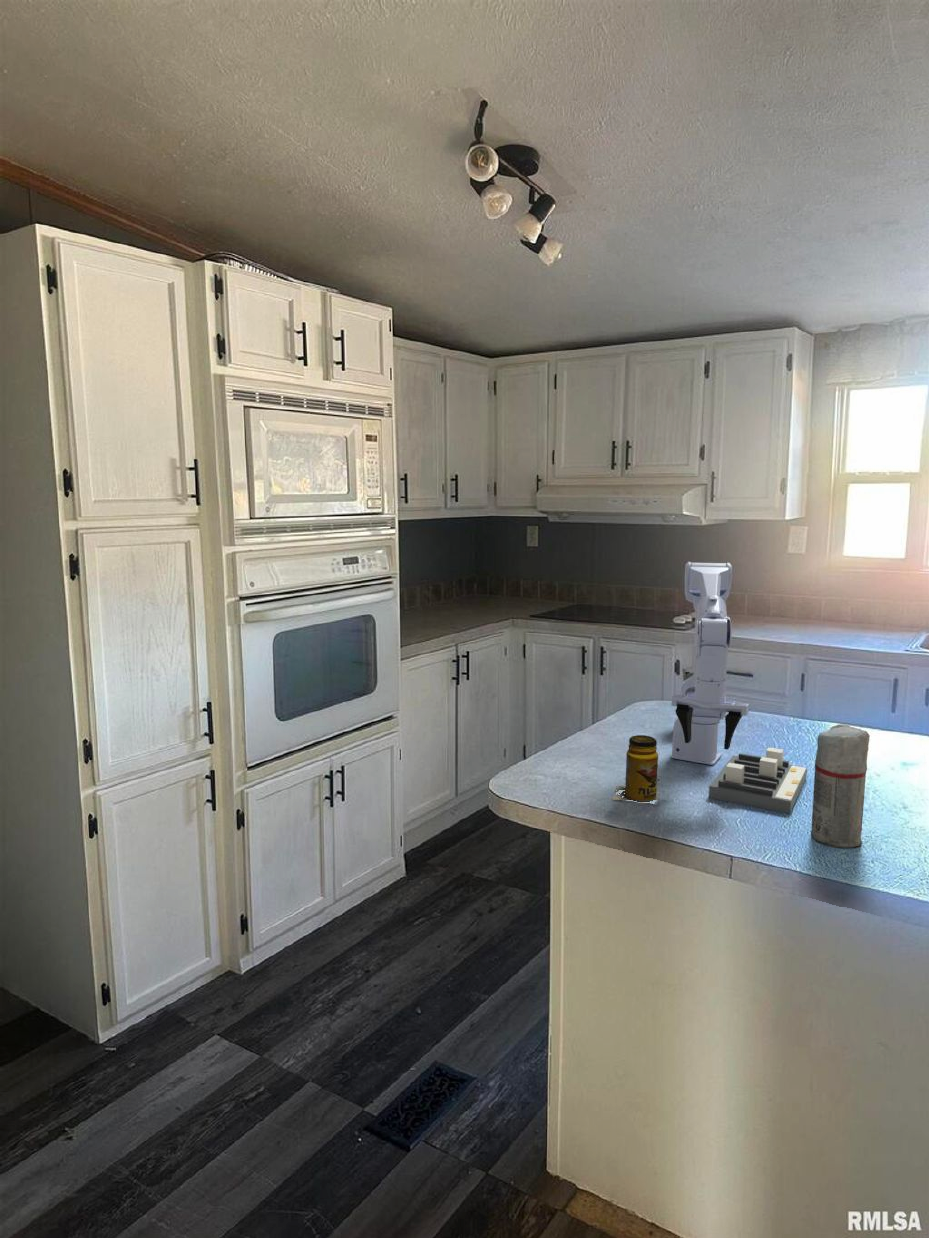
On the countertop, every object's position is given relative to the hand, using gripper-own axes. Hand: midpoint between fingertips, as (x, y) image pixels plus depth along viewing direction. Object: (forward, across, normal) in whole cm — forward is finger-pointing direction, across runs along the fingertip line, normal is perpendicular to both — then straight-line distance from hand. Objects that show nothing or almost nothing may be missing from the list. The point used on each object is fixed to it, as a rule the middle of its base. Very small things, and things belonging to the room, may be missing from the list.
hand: (707, 744), depth 156 cm
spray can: (+10, +25, -12) cm, 29 cm away
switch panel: (+9, +9, +7) cm, 15 cm away
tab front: (+7, +6, 0) cm, 9 cm away
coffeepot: (+10, -11, +44) cm, 46 cm away
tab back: (+7, +11, +14) cm, 19 cm away
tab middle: (+7, +11, +7) cm, 14 cm away
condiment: (+10, -11, -10) cm, 18 cm away
